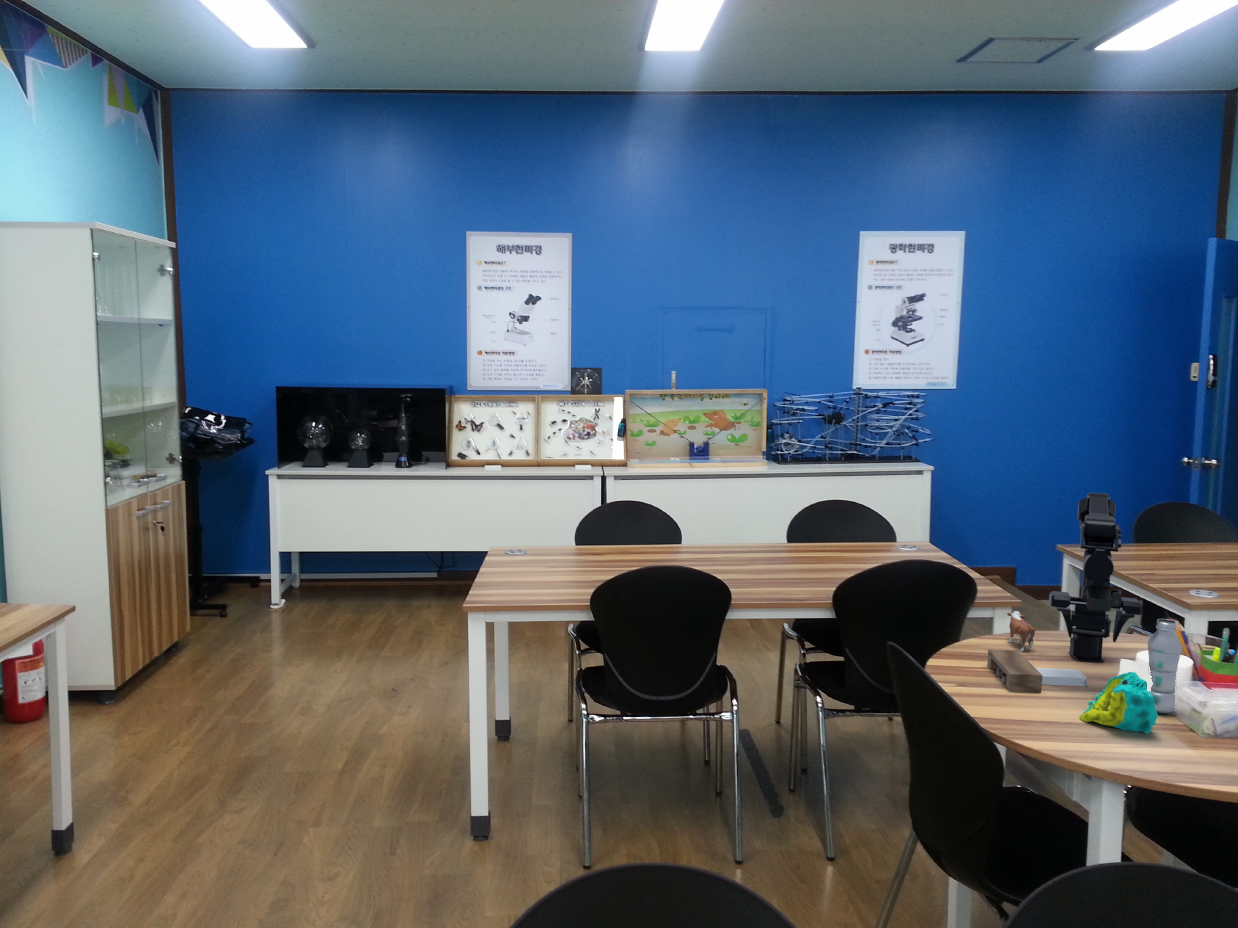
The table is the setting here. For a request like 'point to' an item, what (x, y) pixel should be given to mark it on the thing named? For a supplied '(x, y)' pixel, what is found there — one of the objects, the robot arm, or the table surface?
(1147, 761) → the table surface
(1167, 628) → the plastic bottle
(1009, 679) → the low shelf
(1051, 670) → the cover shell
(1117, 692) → the turquoise and yellow lump
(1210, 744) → the table surface
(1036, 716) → the table surface
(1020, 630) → the bull figurine
